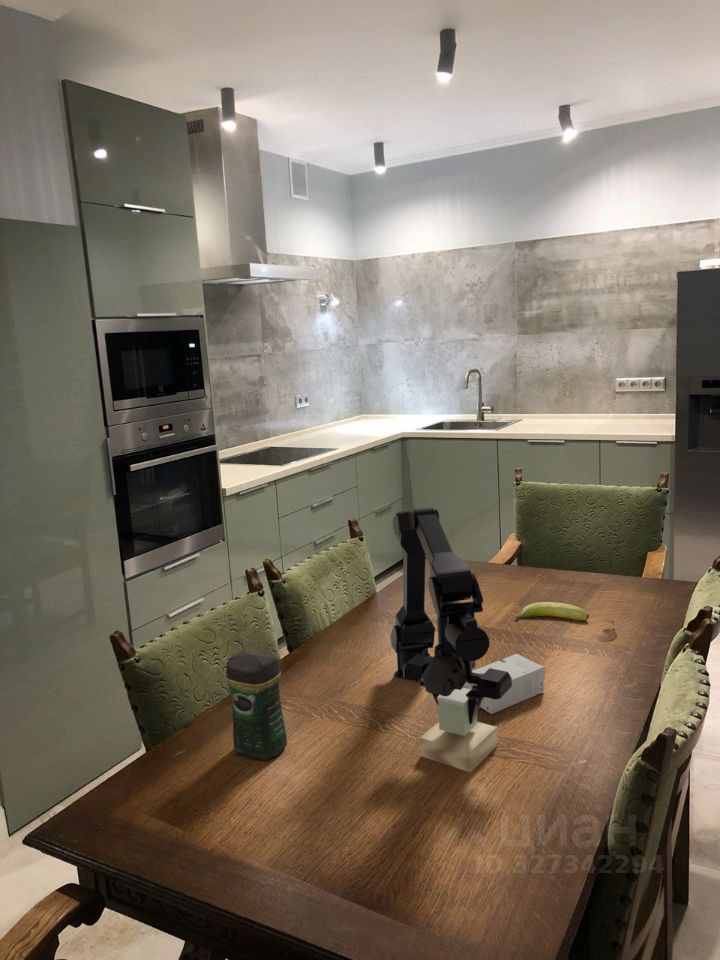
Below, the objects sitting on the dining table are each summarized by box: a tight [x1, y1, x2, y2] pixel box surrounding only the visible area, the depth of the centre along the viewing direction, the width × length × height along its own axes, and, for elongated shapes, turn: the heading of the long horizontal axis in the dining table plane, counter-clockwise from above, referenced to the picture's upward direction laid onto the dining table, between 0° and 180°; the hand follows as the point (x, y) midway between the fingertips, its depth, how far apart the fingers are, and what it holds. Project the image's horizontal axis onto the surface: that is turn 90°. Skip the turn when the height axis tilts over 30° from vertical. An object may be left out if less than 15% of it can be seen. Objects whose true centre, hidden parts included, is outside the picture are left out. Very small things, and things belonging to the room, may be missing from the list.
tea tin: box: [437, 687, 478, 736], centre depth 138 cm, size 5×5×6 cm
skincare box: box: [464, 653, 546, 715], centre depth 157 cm, size 8×6×15 cm
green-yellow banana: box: [512, 599, 618, 643], centre depth 197 cm, size 35×27×4 cm
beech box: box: [419, 721, 499, 773], centre depth 139 cm, size 10×10×4 cm
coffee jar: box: [225, 650, 288, 760], centre depth 143 cm, size 10×8×19 cm
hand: (458, 719), depth 138 cm, fingers closed on tea tin, 5 cm apart
